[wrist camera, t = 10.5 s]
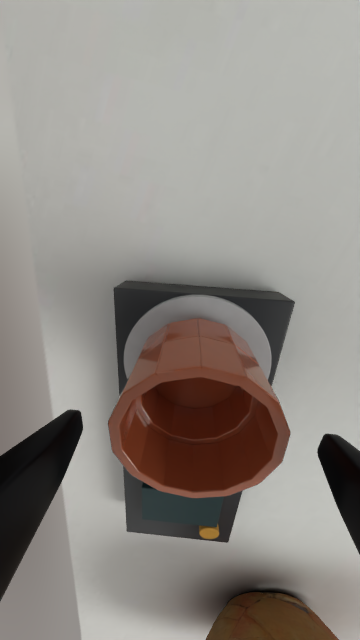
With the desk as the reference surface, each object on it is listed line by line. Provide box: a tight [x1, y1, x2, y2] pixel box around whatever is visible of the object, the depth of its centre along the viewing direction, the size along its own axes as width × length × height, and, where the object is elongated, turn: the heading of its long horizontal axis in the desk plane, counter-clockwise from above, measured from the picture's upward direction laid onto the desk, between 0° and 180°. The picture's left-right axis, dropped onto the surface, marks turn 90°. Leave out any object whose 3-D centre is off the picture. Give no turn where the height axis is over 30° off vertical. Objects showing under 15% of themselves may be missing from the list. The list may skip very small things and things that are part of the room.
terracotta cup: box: [108, 318, 290, 498], centre depth 9 cm, size 6×6×4 cm
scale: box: [114, 281, 295, 542], centre depth 15 cm, size 22×9×3 cm, turn 176°
